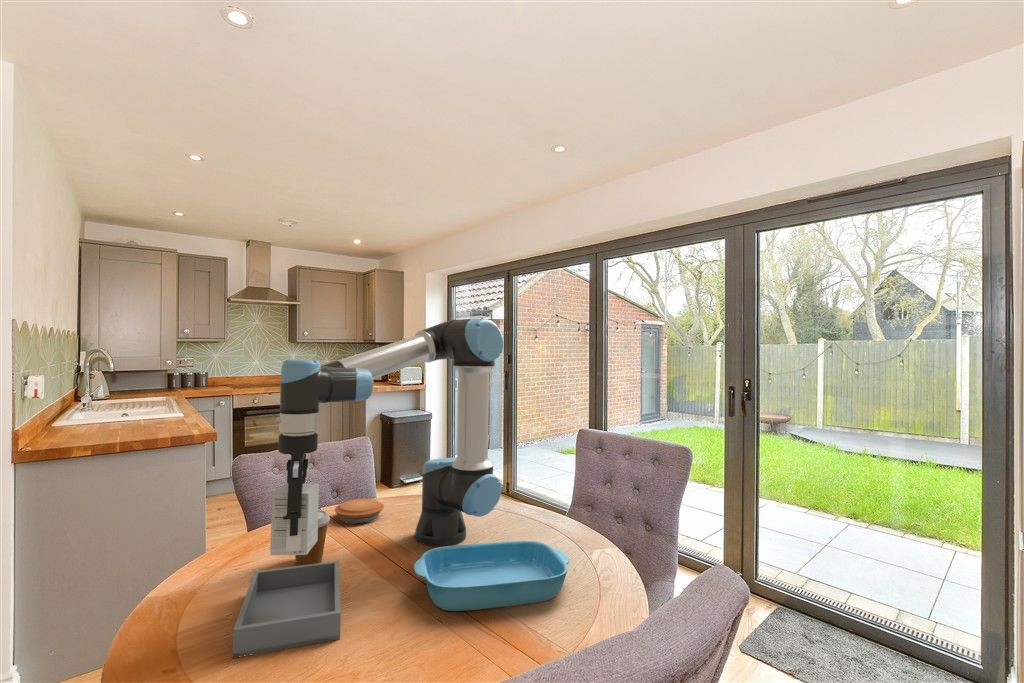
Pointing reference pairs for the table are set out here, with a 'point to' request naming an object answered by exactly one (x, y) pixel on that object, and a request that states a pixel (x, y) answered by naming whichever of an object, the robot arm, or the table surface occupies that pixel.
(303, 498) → the supplement box
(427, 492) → the robot arm
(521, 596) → the casserole dish
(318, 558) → the disposable coffee cup
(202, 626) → the table surface
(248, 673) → the table surface
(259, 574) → the bin
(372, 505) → the pie
